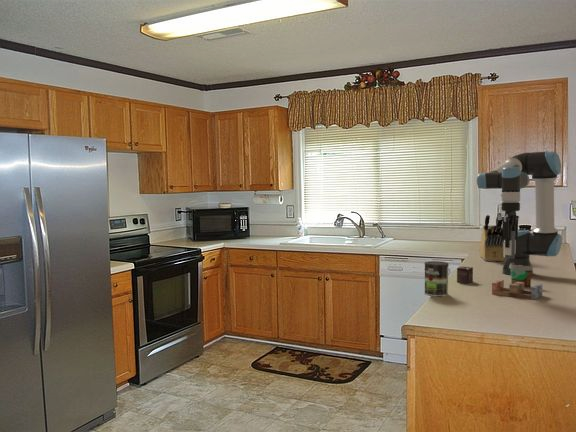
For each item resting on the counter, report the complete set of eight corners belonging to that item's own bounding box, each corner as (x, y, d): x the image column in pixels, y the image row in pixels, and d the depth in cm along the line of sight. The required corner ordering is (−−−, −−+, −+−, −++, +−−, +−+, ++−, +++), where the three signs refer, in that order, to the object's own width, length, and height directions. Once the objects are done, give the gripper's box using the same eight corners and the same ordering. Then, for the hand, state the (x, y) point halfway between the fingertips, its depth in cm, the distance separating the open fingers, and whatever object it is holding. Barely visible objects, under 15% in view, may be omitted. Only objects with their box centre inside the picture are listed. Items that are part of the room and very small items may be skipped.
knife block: (486, 263, 317) (486, 212, 315) (478, 255, 351) (479, 209, 349) (506, 263, 314) (506, 212, 313) (496, 255, 349) (497, 209, 347)
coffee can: (441, 297, 225) (441, 265, 224) (420, 294, 232) (420, 263, 232) (452, 294, 232) (452, 262, 232) (432, 290, 240) (432, 260, 239)
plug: (507, 257, 235) (507, 230, 234) (516, 257, 232) (516, 231, 231) (503, 258, 232) (503, 231, 231) (512, 258, 229) (513, 231, 229)
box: (461, 280, 264) (461, 266, 263) (473, 281, 260) (473, 267, 260) (456, 282, 259) (456, 267, 259) (468, 283, 255) (468, 268, 255)
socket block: (500, 290, 238) (500, 279, 238) (542, 295, 226) (542, 284, 226) (491, 294, 231) (492, 282, 230) (535, 299, 219) (535, 287, 218)
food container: (503, 283, 254) (503, 263, 254) (512, 282, 256) (513, 262, 256) (522, 288, 243) (522, 266, 242) (532, 287, 245) (533, 266, 244)
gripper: (509, 201, 239) (508, 252, 241) (494, 202, 227) (493, 255, 228) (526, 201, 234) (525, 253, 235) (511, 202, 222) (511, 257, 223)
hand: (510, 254), depth 232 cm, fingers closed on plug, 4 cm apart
